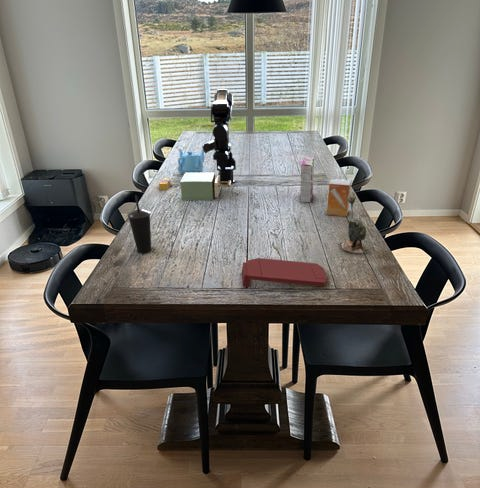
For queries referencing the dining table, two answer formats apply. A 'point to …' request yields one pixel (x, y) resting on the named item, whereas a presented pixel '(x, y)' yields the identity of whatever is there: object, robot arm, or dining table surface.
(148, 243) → the drinking cup
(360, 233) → the plant with pod
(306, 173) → the candy bar box
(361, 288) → the dining table surface
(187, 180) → the cabinet
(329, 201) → the small box
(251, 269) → the red flat block
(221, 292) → the dining table surface
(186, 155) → the teapot
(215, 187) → the drawer
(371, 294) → the dining table surface
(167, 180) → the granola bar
